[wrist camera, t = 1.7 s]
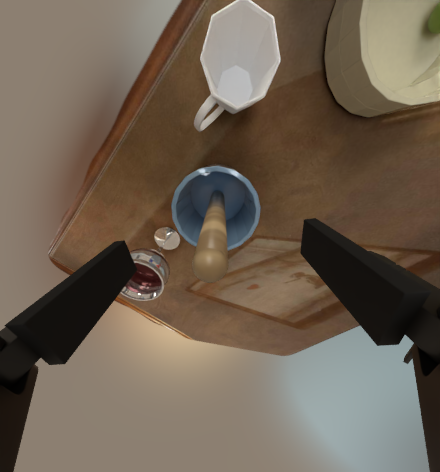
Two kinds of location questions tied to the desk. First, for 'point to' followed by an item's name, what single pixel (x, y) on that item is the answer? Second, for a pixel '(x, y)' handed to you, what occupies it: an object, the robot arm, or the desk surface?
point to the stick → (212, 242)
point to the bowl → (382, 55)
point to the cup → (238, 59)
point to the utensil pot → (198, 196)
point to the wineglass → (151, 267)
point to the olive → (434, 20)
